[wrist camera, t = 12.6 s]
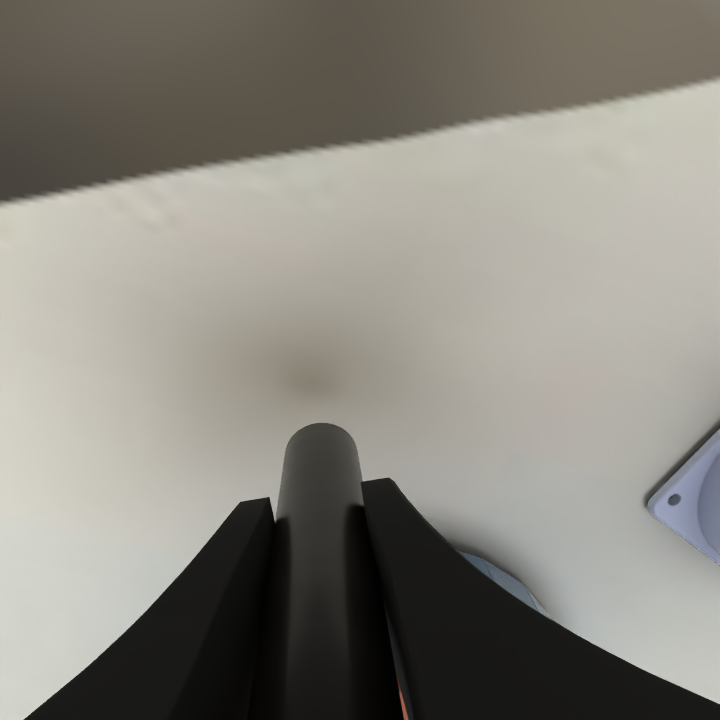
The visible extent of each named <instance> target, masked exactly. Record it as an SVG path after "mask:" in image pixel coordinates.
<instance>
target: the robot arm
mask: <svg viewBox="0 0 720 720" xmlns="http://www.w3.org/2000/svg"><path fill="white" fill-rule="evenodd" d="M360 483H361V490H362V496H363V503H364V509H365V516H366V522H367V528H368V534H369V539H370V543H371V547H372V551H373V554H374V558H375V562H376V566H377V570H378V574H379V579H380V584H381V589H382V595H383V601H384V606H385V612H386V618H387V624H388V629H389V635H390V641H391V647H392V652H393V658H394V664H395V670H396V674H397V678H398V681H399V685H400V689H401V693H402V697H403V701H404V705H405V708H406V712H407V716H408V720H720V704H718V703H715V702H713V701H711V700H709V699H706V698H704V697H702V696H700V695H698V694H695V693H693V692H691V691H689V690H686V689H684V688H682V687H680V686H677V685H675V684H673V683H671V682H668V681H666V680H664V679H662V678H659V677H657V676H655V675H653V674H651V673H648V672H646V671H644V670H642V669H640V668H638V667H636V666H634V665H632V664H630V663H628V662H626V661H625V660H623V659H621V658H619V657H617V656H615V655H613V654H611V653H609V652H607V651H605V650H603V649H601V648H600V647H598V646H596V645H594V644H592V643H590V642H588V641H587V640H585V639H583V638H581V637H579V636H578V635H576V634H574V633H573V632H571V631H569V630H568V629H566V628H564V627H563V626H561V625H559V624H558V623H556V622H554V621H553V620H551V619H549V618H548V617H546V616H545V615H543V614H541V613H540V612H538V611H536V610H535V609H533V608H531V607H530V606H528V605H527V604H525V603H524V602H523V601H521V600H520V599H518V598H517V597H515V596H514V595H512V594H511V593H509V592H508V591H507V590H505V589H504V588H503V587H501V586H500V585H499V584H497V583H496V582H495V581H493V580H492V579H491V578H489V577H488V576H487V575H486V574H484V573H483V572H482V571H481V570H479V569H478V568H477V567H476V566H474V565H473V564H472V563H471V562H470V561H469V560H467V559H466V558H465V557H464V556H463V555H462V554H461V553H459V552H458V551H457V550H456V549H455V548H454V547H453V546H452V545H451V544H449V543H448V542H447V541H446V540H445V539H444V538H443V537H442V536H441V535H440V534H439V533H438V532H437V531H436V530H435V529H434V528H433V527H432V526H431V525H430V524H429V523H428V522H427V521H426V520H425V519H424V518H423V516H422V515H421V514H420V513H419V512H418V511H417V510H416V509H415V507H414V506H413V505H412V504H411V503H410V502H409V500H408V499H407V498H406V497H405V496H404V494H403V493H402V492H401V490H400V489H399V488H398V486H397V485H396V483H395V482H394V481H393V480H392V479H390V478H383V479H377V480H371V481H364V482H360ZM672 495H673V496H672ZM670 496H672V497H671V498H670ZM669 498H670V499H669ZM647 507H648V510H649V512H650V513H651V514H652V515H654V516H655V517H656V518H657V519H659V520H660V521H661V522H662V523H664V524H665V525H666V526H668V527H669V528H670V529H672V530H673V531H674V532H676V533H677V534H678V535H680V536H681V537H682V538H684V539H685V540H686V541H688V542H689V543H690V544H692V545H693V546H694V547H696V548H697V549H698V550H700V551H701V552H702V553H703V554H705V555H706V556H707V557H709V558H710V559H711V560H713V561H714V562H715V563H717V564H718V565H719V566H720V428H719V429H718V431H717V432H716V433H715V434H714V435H713V436H712V437H711V438H710V439H709V440H708V441H707V442H706V443H705V444H704V445H703V446H702V447H701V448H700V449H699V450H698V451H697V452H696V453H695V454H694V455H693V456H692V457H691V458H690V459H689V460H688V461H687V462H686V463H685V464H684V465H683V466H682V467H681V468H680V469H679V470H678V471H677V472H676V473H675V474H674V475H673V476H672V477H671V478H670V479H669V480H668V481H667V482H666V483H665V484H664V485H663V486H662V487H661V488H660V489H659V490H658V491H657V492H656V493H655V494H654V495H653V496H652V497H651V499H650V500H649V501H648V505H647ZM274 528H275V521H274V516H273V512H272V507H271V502H270V498H269V497H267V498H261V499H255V500H249V501H243V502H240V503H239V504H238V505H237V506H236V508H235V509H234V510H233V511H232V512H231V514H230V515H229V516H228V517H227V519H226V520H225V521H224V522H223V524H222V525H221V526H220V527H219V529H218V530H217V531H216V532H215V534H214V535H213V536H212V537H211V538H210V540H209V541H208V542H207V543H206V545H205V546H204V547H203V548H202V549H201V551H200V552H199V553H198V554H197V555H196V557H195V558H194V559H193V560H192V561H191V563H190V564H189V565H188V566H187V567H186V568H185V570H184V571H183V572H182V573H181V574H180V575H179V576H178V577H177V578H176V579H175V580H174V582H173V583H172V584H171V585H170V586H169V587H168V588H167V589H166V590H165V591H164V592H163V593H162V595H161V596H160V597H159V598H158V599H157V600H156V601H155V602H154V603H153V604H152V605H151V607H150V608H149V609H148V610H147V611H146V612H145V613H144V614H143V615H142V616H141V617H140V618H139V619H138V620H137V621H136V622H135V623H134V624H133V625H132V626H131V627H130V628H129V629H128V630H127V631H126V632H125V633H124V634H123V635H121V636H120V637H119V638H118V639H117V640H116V641H115V642H114V643H113V644H112V645H111V646H110V647H109V648H107V649H106V650H105V651H104V652H103V653H102V654H101V655H100V656H99V657H98V658H97V659H96V660H94V661H93V662H92V663H91V664H90V665H89V666H88V667H87V668H85V669H84V670H83V671H82V672H81V673H80V674H78V675H77V676H76V677H75V678H73V679H72V680H71V681H70V682H69V683H67V684H66V685H65V686H64V687H63V688H61V689H60V690H59V691H58V692H57V693H55V694H54V695H53V696H52V697H51V698H49V699H48V700H47V701H46V702H45V703H43V704H42V705H41V706H40V707H38V708H37V709H36V710H35V711H34V712H32V713H31V714H30V715H29V716H28V717H26V718H25V719H24V720H247V716H248V709H249V702H250V695H251V688H252V681H253V674H254V667H255V660H256V653H257V646H258V639H259V632H260V625H261V618H262V611H263V604H264V597H265V590H266V583H267V576H268V569H269V562H270V556H271V549H272V542H273V535H274Z"/></svg>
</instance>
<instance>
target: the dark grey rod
mask: <svg viewBox="0 0 720 720" xmlns="http://www.w3.org/2000/svg"><path fill="white" fill-rule="evenodd" d="M360 482H363V480H362V474H361V469H360V463H359V457H358V451H357V447H356V444H355V442H354V440H353V438H352V437H351V436H350V434H349V433H348V432H346V431H345V430H344V429H342V428H340V427H338V426H336V425H333V424H329V423H315V424H311V425H308V426H306V427H304V428H302V429H300V430H299V431H297V432H296V433H295V434H294V435H293V436H292V437H291V439H290V440H289V442H288V444H287V447H286V451H285V457H284V464H283V471H282V478H281V485H280V492H279V499H278V506H277V513H276V520H275V528H274V535H273V542H272V549H271V556H270V562H269V569H268V576H267V583H266V590H265V597H264V604H263V611H262V618H261V625H260V632H259V639H258V646H257V653H256V660H255V667H254V674H253V681H252V688H251V695H250V702H249V709H248V716H247V720H404V716H403V710H402V704H401V698H400V693H399V687H398V681H397V675H396V670H395V664H394V658H393V652H392V647H391V641H390V635H389V629H388V624H387V618H386V612H385V606H384V601H383V595H382V589H381V584H380V579H379V574H378V570H377V566H376V562H375V558H374V554H373V551H372V547H371V543H370V539H369V534H368V528H367V522H366V516H365V509H364V503H363V496H362V490H361V483H360Z"/></svg>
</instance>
